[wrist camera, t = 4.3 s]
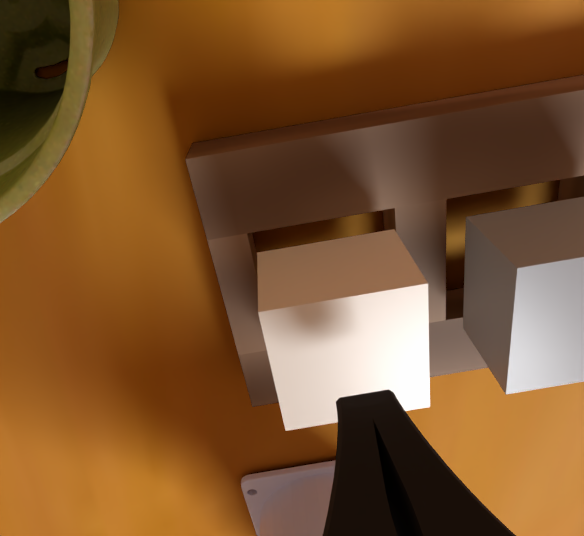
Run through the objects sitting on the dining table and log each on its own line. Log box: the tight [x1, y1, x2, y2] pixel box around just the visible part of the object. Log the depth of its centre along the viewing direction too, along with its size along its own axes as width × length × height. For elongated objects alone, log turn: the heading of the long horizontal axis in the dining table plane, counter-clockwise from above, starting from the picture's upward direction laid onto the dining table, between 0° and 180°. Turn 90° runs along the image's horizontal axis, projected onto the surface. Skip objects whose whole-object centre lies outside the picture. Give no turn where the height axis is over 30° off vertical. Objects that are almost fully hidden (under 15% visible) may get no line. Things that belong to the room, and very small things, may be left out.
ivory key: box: [257, 229, 430, 431], centre depth 15 cm, size 5×5×4 cm
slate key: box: [463, 197, 584, 394], centre depth 15 cm, size 5×5×4 cm
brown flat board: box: [185, 75, 584, 407], centre depth 18 cm, size 11×22×2 cm, turn 99°
